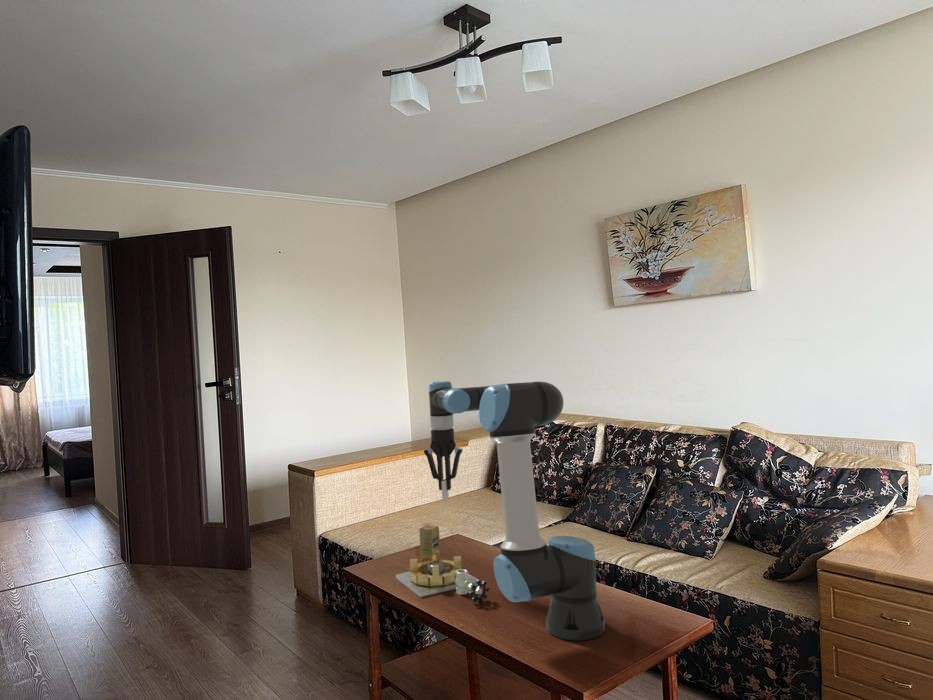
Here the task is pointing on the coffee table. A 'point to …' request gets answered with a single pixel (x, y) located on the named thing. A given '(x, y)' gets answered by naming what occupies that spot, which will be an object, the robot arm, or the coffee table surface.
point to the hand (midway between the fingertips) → (445, 499)
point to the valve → (469, 586)
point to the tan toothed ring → (434, 571)
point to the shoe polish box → (429, 542)
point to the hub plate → (429, 590)
